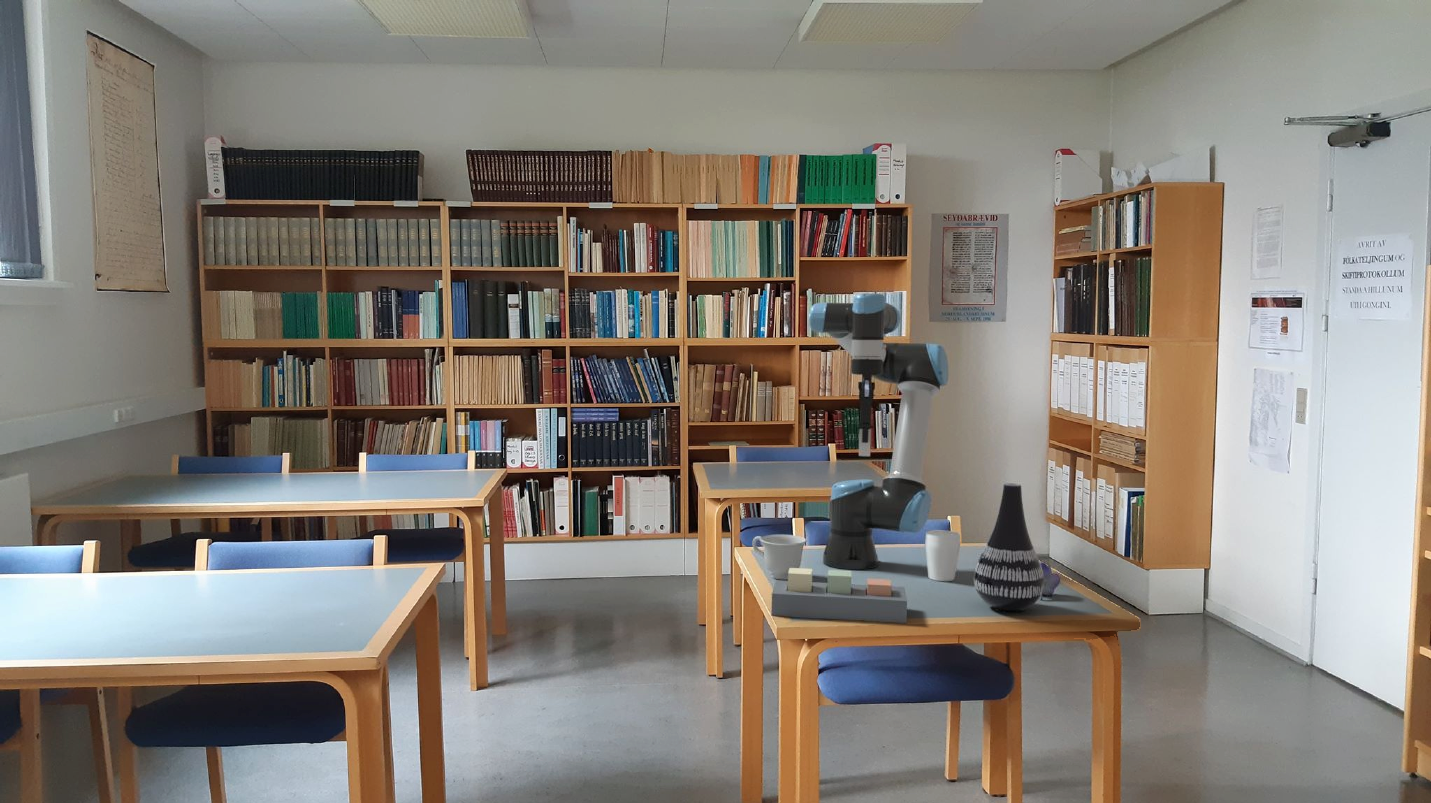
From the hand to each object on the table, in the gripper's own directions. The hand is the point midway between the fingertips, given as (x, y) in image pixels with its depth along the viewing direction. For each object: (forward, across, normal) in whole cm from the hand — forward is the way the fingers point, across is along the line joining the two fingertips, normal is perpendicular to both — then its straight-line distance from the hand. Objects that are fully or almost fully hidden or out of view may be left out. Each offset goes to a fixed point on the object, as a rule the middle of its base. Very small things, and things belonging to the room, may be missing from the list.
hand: (864, 455), depth 237 cm
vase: (+35, -4, -34) cm, 49 cm away
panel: (+34, -15, +5) cm, 38 cm away
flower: (+35, +9, -44) cm, 57 cm away
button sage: (+32, -15, +5) cm, 36 cm away
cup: (+35, +22, -21) cm, 46 cm away
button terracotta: (+34, -15, -4) cm, 37 cm away
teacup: (+35, +15, +21) cm, 43 cm away
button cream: (+32, -15, +14) cm, 38 cm away
